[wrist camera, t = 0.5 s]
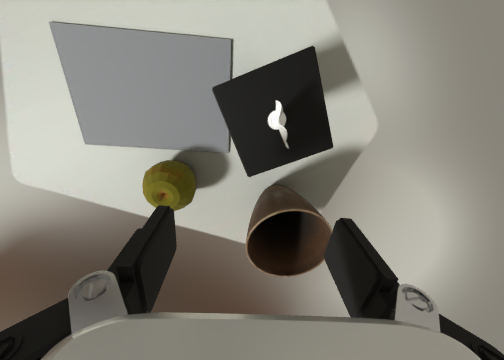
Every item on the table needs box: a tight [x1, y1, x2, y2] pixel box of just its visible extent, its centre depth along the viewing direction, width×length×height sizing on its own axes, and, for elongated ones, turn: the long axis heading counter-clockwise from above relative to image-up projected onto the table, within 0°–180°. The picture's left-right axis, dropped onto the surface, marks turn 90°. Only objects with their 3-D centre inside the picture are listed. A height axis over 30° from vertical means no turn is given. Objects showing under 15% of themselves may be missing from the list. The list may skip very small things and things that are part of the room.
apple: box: [143, 160, 196, 211], centre depth 40 cm, size 10×10×11 cm
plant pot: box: [246, 185, 332, 277], centre depth 41 cm, size 15×15×16 cm
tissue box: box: [212, 46, 333, 177], centre depth 25 cm, size 8×8×28 cm
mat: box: [49, 22, 231, 153], centre depth 37 cm, size 20×29×1 cm
